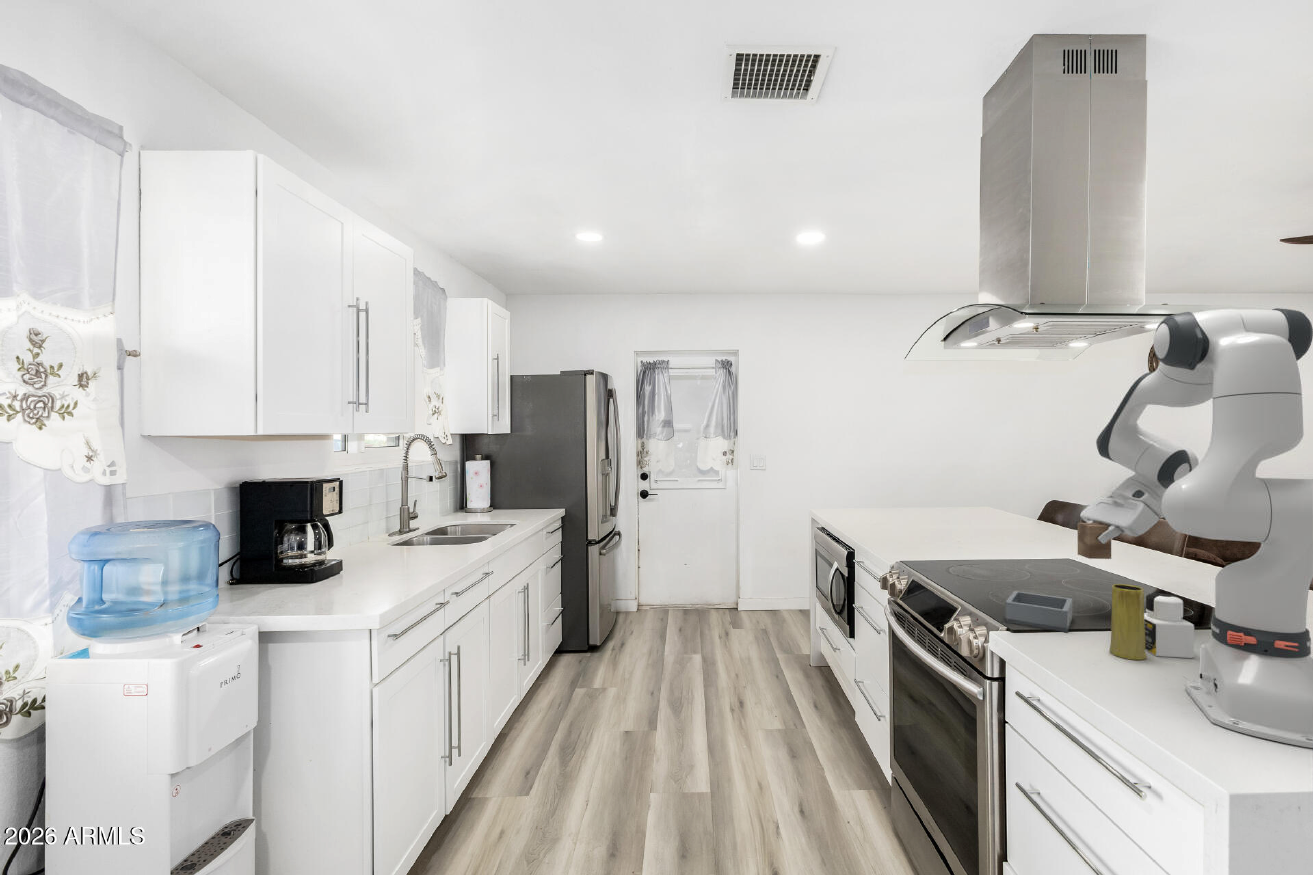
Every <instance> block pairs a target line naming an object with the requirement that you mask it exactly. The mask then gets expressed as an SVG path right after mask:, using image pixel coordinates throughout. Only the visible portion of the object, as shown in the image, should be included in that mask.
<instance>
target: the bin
mask: <svg viewBox="0 0 1313 875" xmlns="http://www.w3.org/2000/svg"><path fill="white" fill-rule="evenodd" d="M1073 604H1074V603H1073V598H1067V597H1062V596H1055V595H1048V594H1040V593H1034V592H1025V591H1018V590H1014V591H1013V592H1012V593H1011V594H1010V596H1009V597H1008V598H1007V599H1006V601H1005V623H1008V624H1014V623H1015V624H1014V625H1020V626H1025V627H1026V626H1027V627H1033V628H1036V629H1037V628H1039V629H1042V630H1043V629H1045V630H1052V631H1056V632H1062V633H1069V630H1070V627H1071V624H1072V622H1073V619H1074V618H1073V616H1074V615H1073V607H1074V606H1073ZM1072 618H1073V619H1072ZM1071 621H1072V622H1071ZM1070 623H1071V624H1070ZM1069 626H1070V627H1069Z"/></svg>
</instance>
